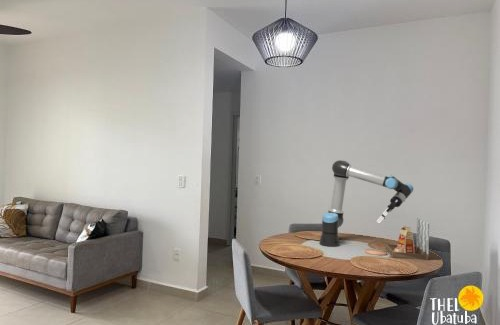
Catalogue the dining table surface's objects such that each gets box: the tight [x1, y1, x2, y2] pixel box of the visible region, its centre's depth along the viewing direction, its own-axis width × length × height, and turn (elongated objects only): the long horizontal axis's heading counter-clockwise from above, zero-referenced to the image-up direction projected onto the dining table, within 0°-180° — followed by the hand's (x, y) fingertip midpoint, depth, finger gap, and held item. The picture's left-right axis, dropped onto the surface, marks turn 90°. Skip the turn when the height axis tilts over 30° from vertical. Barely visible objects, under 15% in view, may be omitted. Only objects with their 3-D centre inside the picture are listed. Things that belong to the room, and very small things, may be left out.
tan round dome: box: [364, 248, 388, 256], centre depth 242 cm, size 15×15×1 cm
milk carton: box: [396, 225, 415, 253], centre depth 240 cm, size 9×9×20 cm
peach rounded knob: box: [393, 248, 402, 252], centre depth 234 cm, size 5×5×5 cm
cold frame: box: [384, 218, 430, 261], centre depth 240 cm, size 25×22×24 cm
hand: (380, 218), depth 241 cm, fingers open, 13 cm apart
